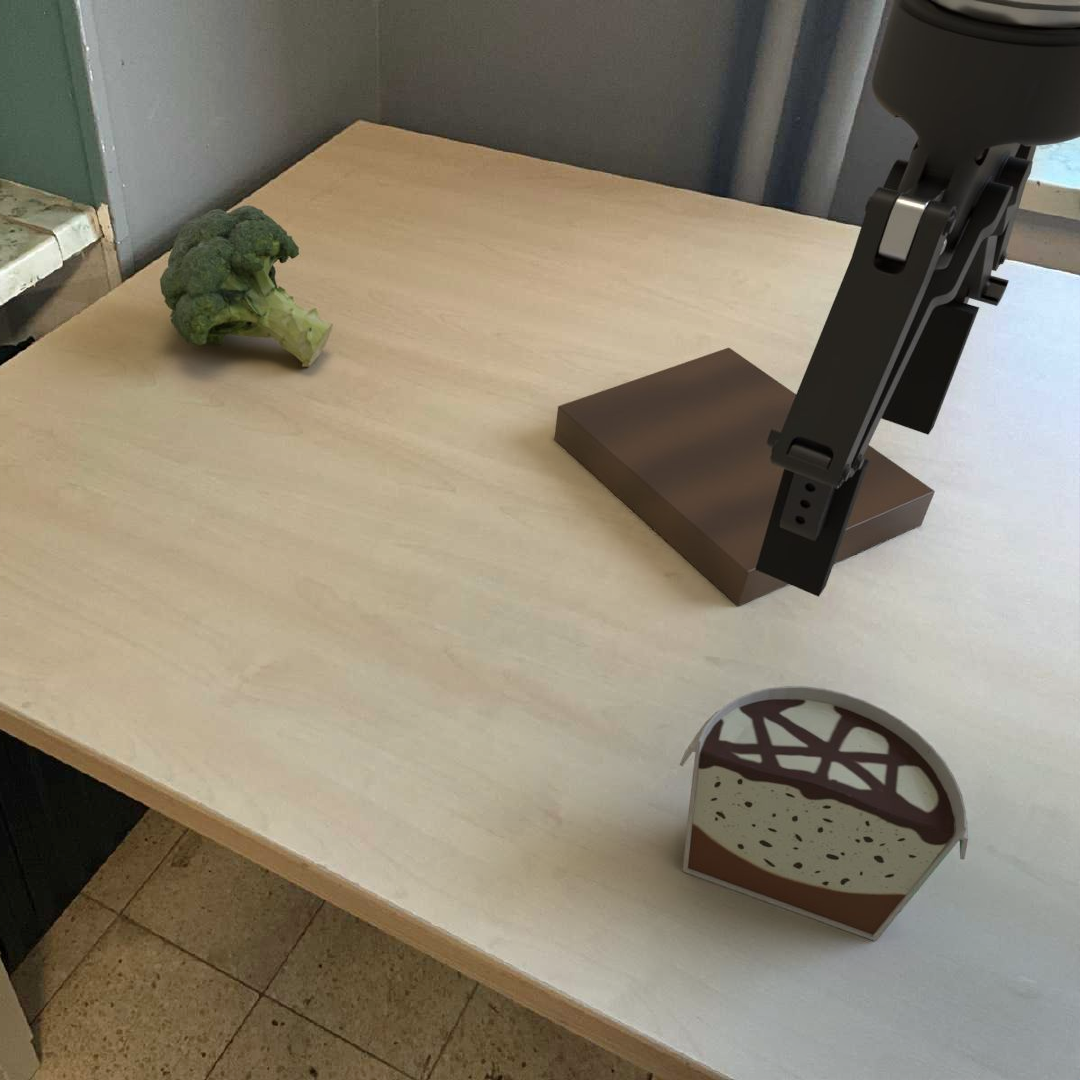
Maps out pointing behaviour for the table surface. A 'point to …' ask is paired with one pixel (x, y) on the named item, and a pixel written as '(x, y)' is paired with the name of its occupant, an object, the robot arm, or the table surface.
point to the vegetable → (237, 284)
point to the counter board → (718, 466)
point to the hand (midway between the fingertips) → (850, 494)
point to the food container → (820, 806)
